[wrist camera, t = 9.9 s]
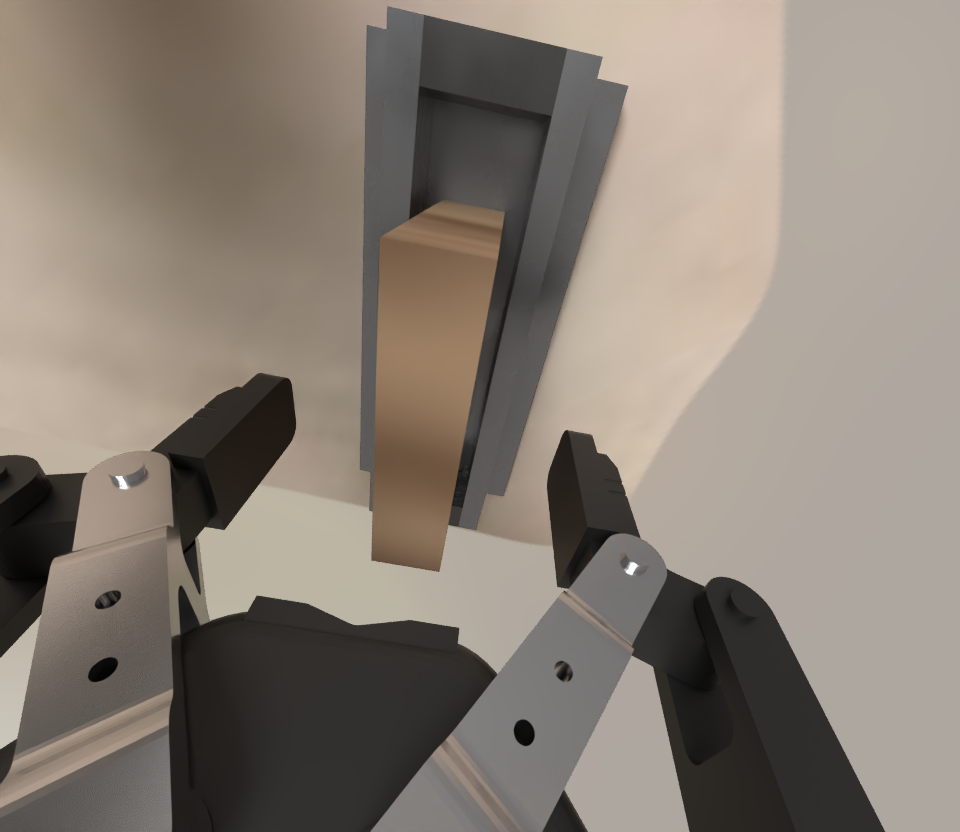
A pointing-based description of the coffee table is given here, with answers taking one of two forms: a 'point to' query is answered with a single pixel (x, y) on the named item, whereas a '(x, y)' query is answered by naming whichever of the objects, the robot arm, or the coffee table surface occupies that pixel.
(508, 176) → the bottom track
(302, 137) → the coffee table surface
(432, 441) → the door panel
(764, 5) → the coffee table surface
